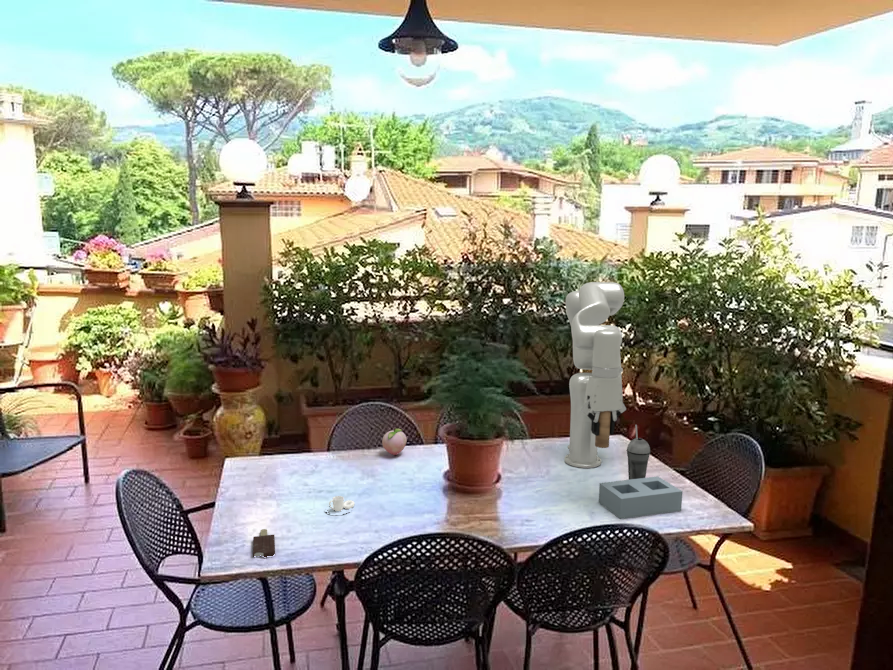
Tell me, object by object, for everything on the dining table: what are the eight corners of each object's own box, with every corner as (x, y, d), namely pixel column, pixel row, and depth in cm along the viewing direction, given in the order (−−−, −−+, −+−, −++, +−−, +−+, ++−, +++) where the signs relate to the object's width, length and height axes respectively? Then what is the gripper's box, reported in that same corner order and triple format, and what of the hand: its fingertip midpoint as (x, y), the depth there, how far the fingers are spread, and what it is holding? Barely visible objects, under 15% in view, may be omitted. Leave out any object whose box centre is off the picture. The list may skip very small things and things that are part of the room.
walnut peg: (592, 444, 197) (594, 404, 195) (604, 443, 198) (606, 403, 196) (599, 448, 193) (600, 408, 191) (611, 447, 194) (613, 407, 192)
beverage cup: (649, 491, 208) (653, 429, 204) (625, 489, 209) (628, 427, 206) (647, 482, 215) (650, 422, 211) (623, 480, 216) (627, 420, 213)
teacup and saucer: (354, 504, 197) (353, 491, 196) (356, 515, 189) (356, 502, 189) (323, 506, 195) (323, 493, 194) (324, 518, 187) (324, 504, 187)
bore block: (598, 502, 199) (599, 483, 198) (656, 494, 205) (657, 476, 204) (620, 519, 188) (621, 498, 187) (681, 510, 194) (682, 491, 193)
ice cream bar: (253, 533, 178) (253, 561, 163) (253, 528, 177) (252, 554, 163) (274, 531, 179) (275, 558, 165) (274, 525, 179) (275, 552, 164)
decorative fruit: (387, 449, 243) (387, 423, 242) (409, 452, 241) (409, 425, 240) (378, 458, 234) (378, 430, 233) (400, 460, 232) (400, 433, 231)
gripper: (624, 368, 198) (621, 428, 201) (573, 371, 194) (570, 432, 196) (638, 373, 191) (635, 435, 194) (584, 376, 186) (582, 439, 189)
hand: (602, 433), depth 195 cm, fingers closed on walnut peg, 4 cm apart
